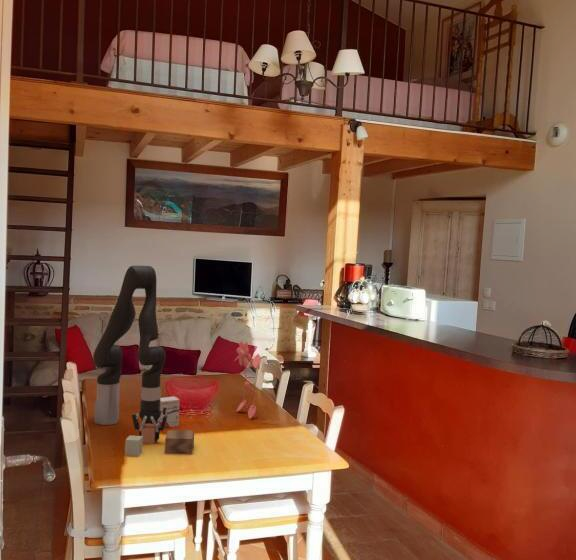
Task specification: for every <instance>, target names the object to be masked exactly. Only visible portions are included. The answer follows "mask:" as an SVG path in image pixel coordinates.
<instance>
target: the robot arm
mask: <svg viewBox="0 0 576 560" xmlns="http://www.w3.org/2000/svg"><path fill="white" fill-rule="evenodd" d="M135 290H144V293H145V298H144V303H143V306H142V308H141V309H140V310H141V311H140V313H139V316H138V320H137V321H138V331H139V332H138V333H139V342H138V343H139V345H138V351H137V359H138V363H140V365H142V366H146V367H147V366H148V367H149V366H151V367H150V368H149V369H147V370H145V371H143V373H142V375H141V390H140V405H139V406H140V411H139V412H134V413H133V414H132V415H131V418H132V423H133V427H134V430H137V431H138V436H141V430H142V427H144V426H145V425H153V426H154V428H155V431H156V432H155V441H156V442H158V441H159V440H160V432H162V431H163V430H165V425H166V421H167V418H168V415H163V414H161V412H160V398H162V397H161V396H162V393H161V391H162V390H161V375H162V372H163V369H164V365H165V362H166V357H167V353H166V351H165V348H163V346H159V345H156V346H150V344H151V342H153V341H156V340H157V339H159V329H158V323H157V322H158V321H157V273H156V270H155V268H153V266H151V265H150V266H149V265H130V266H129V267H127V270H126V272H125V274H124V276H123V280H122V285H121V288H120V291H119V294H118V297H117V300H116V303H115V305H114V307H113V309H112V312H111V315H110V316H109V320H108V323H107V325H106V327H105V330H104V332H103V334H102V335H101V338H100V340H99V341H98V343H97V345H96V347H95V350H94V352H93V365H94V366H95V367H97V368H103V369H105V368H107V369H106V370H105V371H104V372H102V373H101V374H99V375H97V377H96V400H95V401H94V419H93V420H94V424H98V425H101V426H106V425H107V426H111V425H115V424H118V423H119V418H120V416H119V413H120V412H119V411H120V381H121V380H120V379H121V376H122V366H123V351H122V348H121V347H120V345H119V344H116V343H117V342H118V341H119V340H120V339H121V338H122V337H123V336H124V335H126V334H127V333H128V332H129V331H130V330H131V328H132V325H133V323H134V321H135V318H136V309H135V305H134V303H133V295H134V293H135ZM160 417H161V420H162V424H161V427H159V423H158V419H159V418H160ZM139 418H140V419H141V421H142V422H141V424H140V422H139Z"/></svg>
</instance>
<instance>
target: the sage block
mask: <svg viewBox="0 0 576 560" xmlns="http://www.w3.org/2000/svg"><path fill="white" fill-rule="evenodd" d="M142 453H143V436H139V435H128V437H126V439H125V445H124V457H125V456H126V457H140V455H141V454H142Z"/></svg>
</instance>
